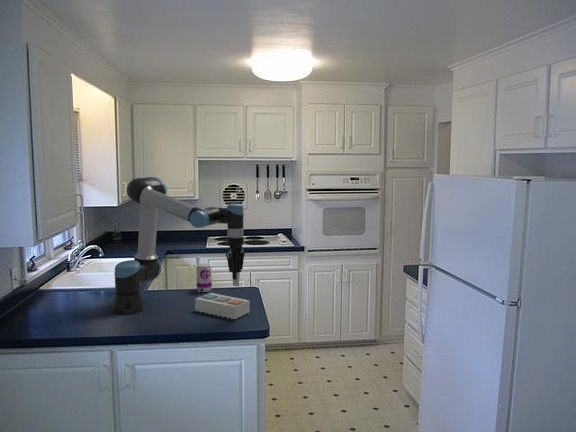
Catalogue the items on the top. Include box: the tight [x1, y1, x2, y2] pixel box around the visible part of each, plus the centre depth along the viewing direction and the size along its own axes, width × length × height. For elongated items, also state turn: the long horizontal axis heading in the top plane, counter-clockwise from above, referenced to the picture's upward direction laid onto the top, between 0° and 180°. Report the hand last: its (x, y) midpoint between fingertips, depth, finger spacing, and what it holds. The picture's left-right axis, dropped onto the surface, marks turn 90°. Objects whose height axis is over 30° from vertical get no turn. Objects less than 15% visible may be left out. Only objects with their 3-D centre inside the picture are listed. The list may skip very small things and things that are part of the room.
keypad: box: [194, 292, 251, 320], centre depth 235 cm, size 12×24×6 cm, turn 59°
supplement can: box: [196, 263, 213, 293], centre depth 270 cm, size 8×8×15 cm
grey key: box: [214, 297, 230, 303], centre depth 235 cm, size 6×6×4 cm
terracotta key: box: [227, 299, 244, 305], centre depth 231 cm, size 6×6×4 cm
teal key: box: [202, 293, 217, 300], centre depth 239 cm, size 6×6×4 cm
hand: (236, 285), depth 230 cm, fingers closed
